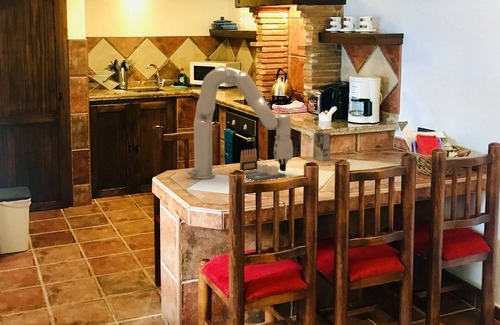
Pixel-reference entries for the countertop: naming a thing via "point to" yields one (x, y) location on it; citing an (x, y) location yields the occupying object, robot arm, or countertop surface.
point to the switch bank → (262, 175)
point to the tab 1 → (262, 168)
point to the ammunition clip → (248, 160)
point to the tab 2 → (272, 170)
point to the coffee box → (321, 146)
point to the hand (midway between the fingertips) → (282, 170)
